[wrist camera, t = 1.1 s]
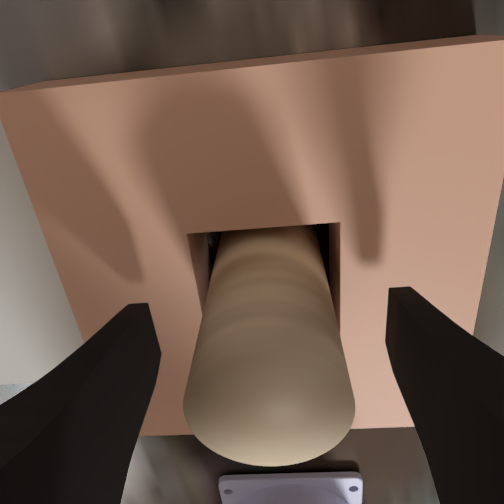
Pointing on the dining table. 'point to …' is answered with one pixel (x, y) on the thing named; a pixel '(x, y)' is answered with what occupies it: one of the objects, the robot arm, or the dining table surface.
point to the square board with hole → (271, 189)
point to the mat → (28, 287)
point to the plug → (269, 352)
